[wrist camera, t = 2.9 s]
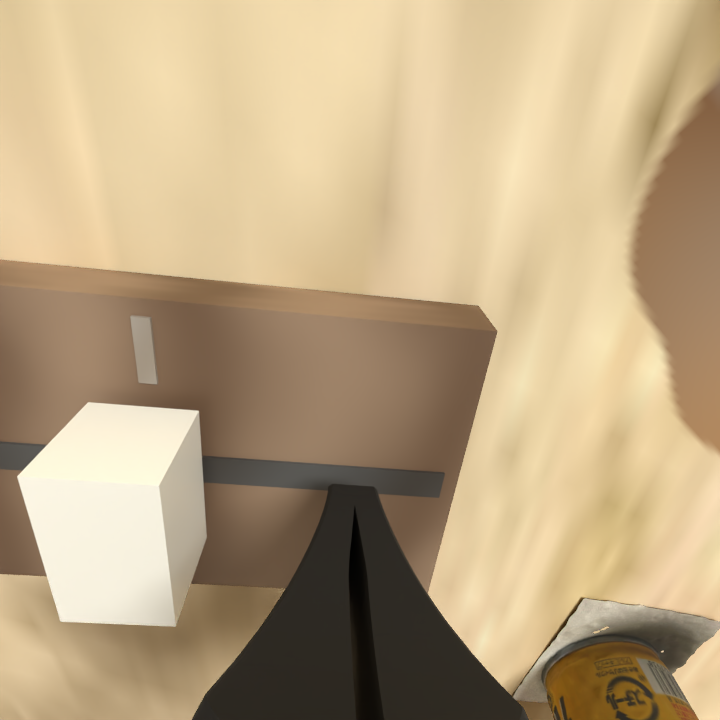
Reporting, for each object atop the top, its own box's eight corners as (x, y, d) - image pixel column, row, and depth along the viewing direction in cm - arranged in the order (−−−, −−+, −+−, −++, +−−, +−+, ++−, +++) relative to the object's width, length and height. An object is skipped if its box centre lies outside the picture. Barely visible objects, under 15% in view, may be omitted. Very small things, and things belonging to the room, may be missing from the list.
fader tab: (112, 532, 15) (60, 621, 12) (87, 402, 12) (17, 476, 10) (206, 537, 15) (175, 626, 12) (198, 410, 13) (158, 485, 10)
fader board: (-31, 526, 18) (-76, 572, 16) (-139, 246, 13) (-222, 266, 11) (419, 551, 19) (427, 597, 17) (478, 305, 14) (498, 332, 12)
